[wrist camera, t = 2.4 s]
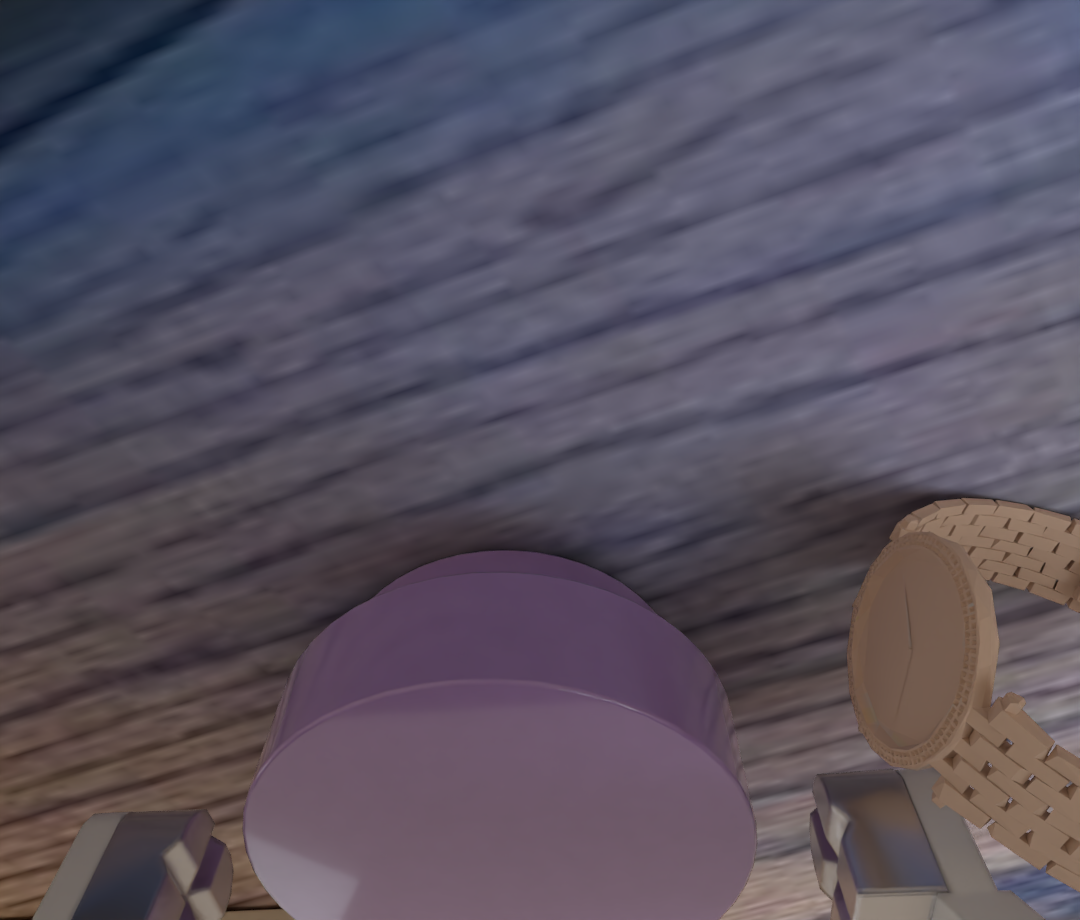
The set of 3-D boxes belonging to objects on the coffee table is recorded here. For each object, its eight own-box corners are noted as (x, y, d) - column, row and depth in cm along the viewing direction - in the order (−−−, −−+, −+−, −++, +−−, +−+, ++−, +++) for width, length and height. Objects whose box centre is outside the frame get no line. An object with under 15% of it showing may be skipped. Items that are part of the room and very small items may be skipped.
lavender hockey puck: (250, 531, 12) (165, 700, 9) (719, 494, 11) (768, 662, 9) (355, 815, 15) (314, 995, 12) (717, 795, 15) (751, 979, 12)
